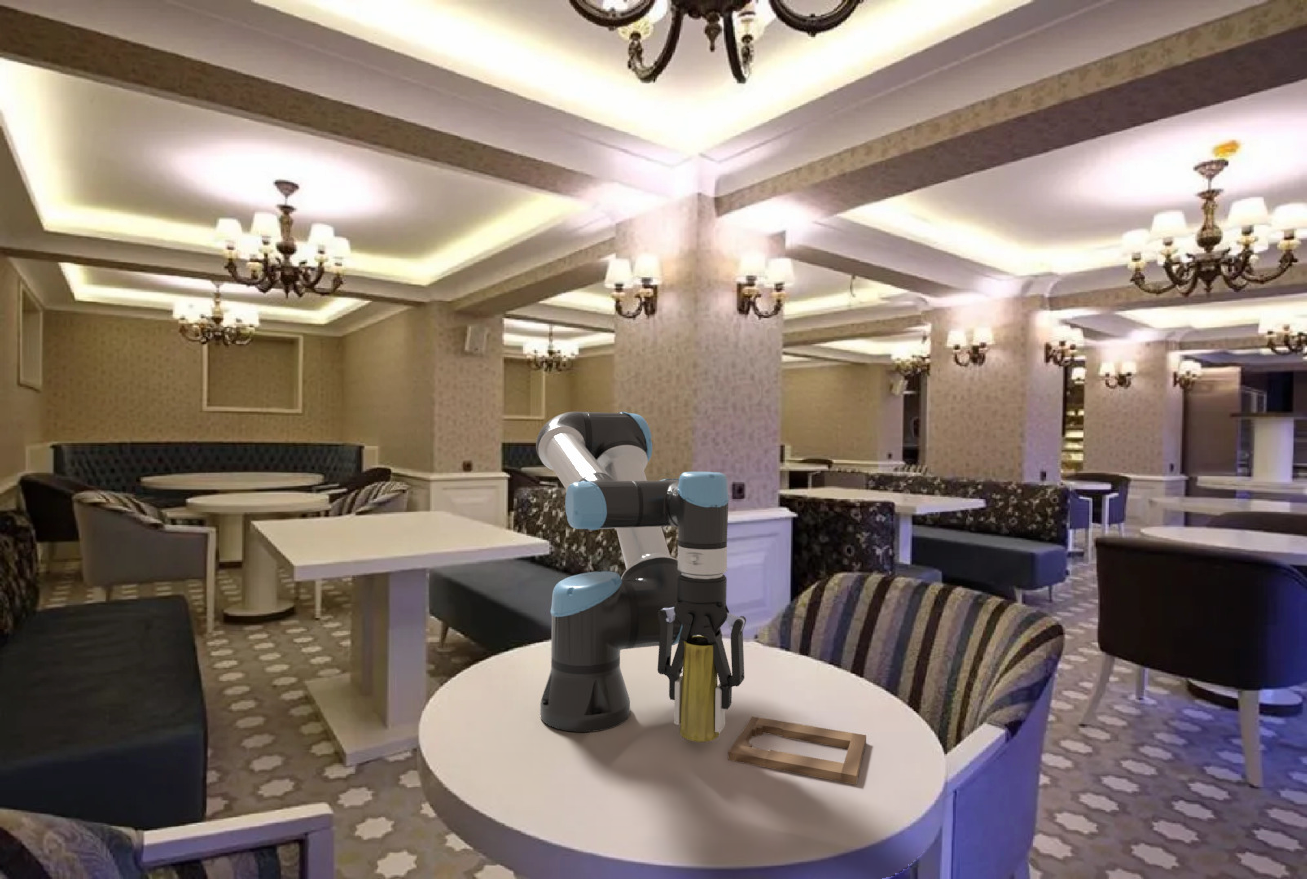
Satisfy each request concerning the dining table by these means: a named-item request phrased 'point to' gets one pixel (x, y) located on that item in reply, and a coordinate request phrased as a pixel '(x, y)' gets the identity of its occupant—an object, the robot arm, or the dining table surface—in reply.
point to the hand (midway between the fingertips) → (699, 724)
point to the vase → (698, 691)
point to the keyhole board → (799, 763)
